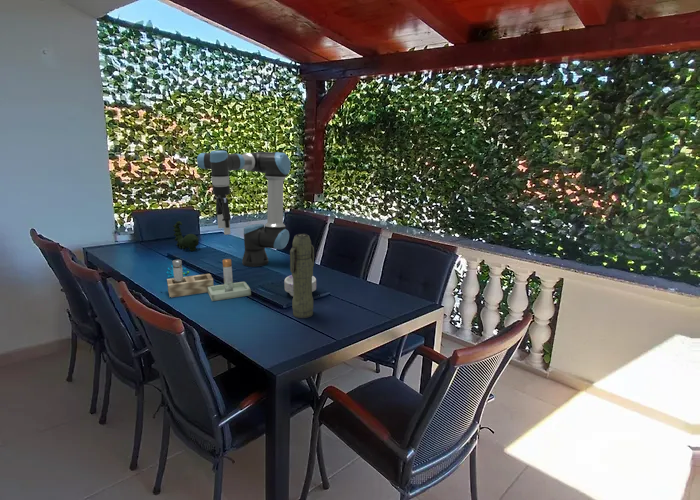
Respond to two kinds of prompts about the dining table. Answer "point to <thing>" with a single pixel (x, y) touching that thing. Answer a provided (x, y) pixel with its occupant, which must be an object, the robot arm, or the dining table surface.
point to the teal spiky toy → (173, 272)
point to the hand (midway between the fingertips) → (224, 231)
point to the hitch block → (190, 285)
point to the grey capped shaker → (178, 271)
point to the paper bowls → (289, 284)
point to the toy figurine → (185, 238)
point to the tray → (220, 294)
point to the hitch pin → (227, 275)
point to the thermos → (302, 275)
